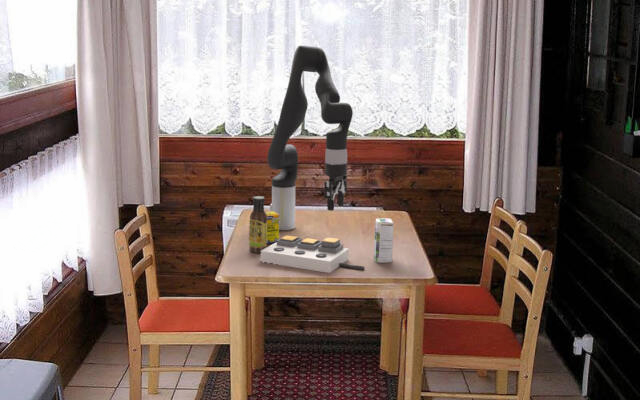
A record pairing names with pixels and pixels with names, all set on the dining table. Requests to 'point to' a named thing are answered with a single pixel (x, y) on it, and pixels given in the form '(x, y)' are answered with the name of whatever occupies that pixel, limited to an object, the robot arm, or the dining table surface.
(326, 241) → the switch
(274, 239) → the supplement box
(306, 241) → the switch
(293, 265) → the switch panel
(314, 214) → the dining table surface
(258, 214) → the sauce bottle
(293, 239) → the switch
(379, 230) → the syrup box
